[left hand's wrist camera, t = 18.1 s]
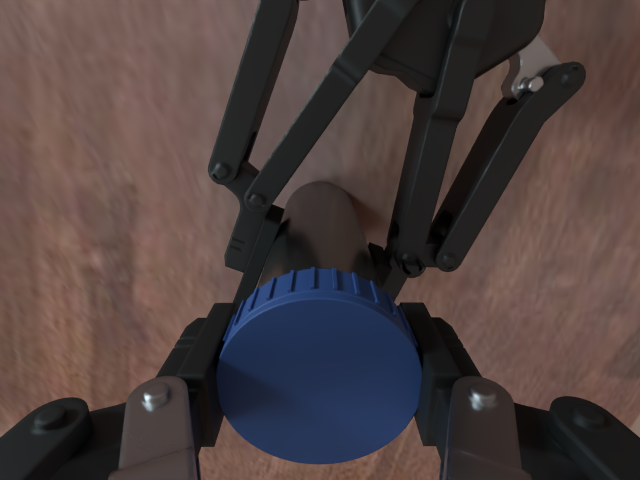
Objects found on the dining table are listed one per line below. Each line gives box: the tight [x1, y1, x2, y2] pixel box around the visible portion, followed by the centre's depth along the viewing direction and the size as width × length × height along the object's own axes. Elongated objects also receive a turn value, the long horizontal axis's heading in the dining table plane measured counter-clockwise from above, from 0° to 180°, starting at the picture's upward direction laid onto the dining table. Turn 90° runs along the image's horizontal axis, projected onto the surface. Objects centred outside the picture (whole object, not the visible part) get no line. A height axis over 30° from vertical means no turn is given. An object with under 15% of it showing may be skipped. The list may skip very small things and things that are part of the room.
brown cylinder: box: [257, 182, 383, 291], centre depth 17 cm, size 5×5×15 cm
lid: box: [216, 267, 422, 464], centre depth 10 cm, size 6×6×2 cm
